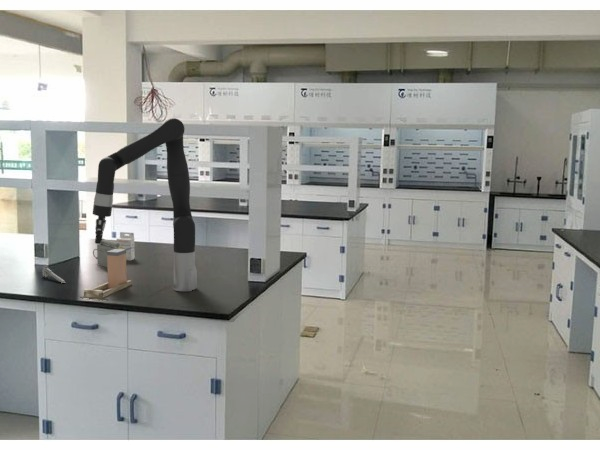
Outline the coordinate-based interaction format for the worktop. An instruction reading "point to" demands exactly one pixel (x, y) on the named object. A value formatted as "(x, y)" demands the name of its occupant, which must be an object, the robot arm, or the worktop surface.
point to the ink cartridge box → (127, 244)
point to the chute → (99, 292)
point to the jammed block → (116, 267)
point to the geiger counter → (104, 251)
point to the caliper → (51, 274)
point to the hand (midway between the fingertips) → (98, 241)
